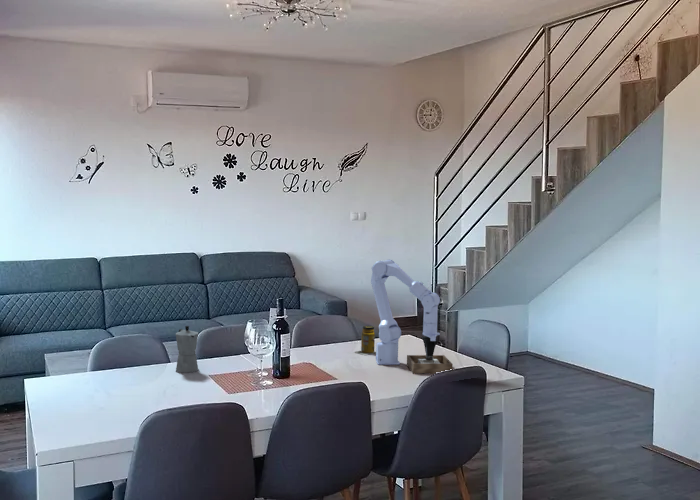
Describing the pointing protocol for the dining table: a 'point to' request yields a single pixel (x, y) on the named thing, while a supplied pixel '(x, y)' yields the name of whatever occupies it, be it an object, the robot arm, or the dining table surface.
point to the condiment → (367, 341)
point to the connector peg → (428, 356)
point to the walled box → (428, 364)
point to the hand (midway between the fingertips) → (429, 354)
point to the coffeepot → (186, 351)
